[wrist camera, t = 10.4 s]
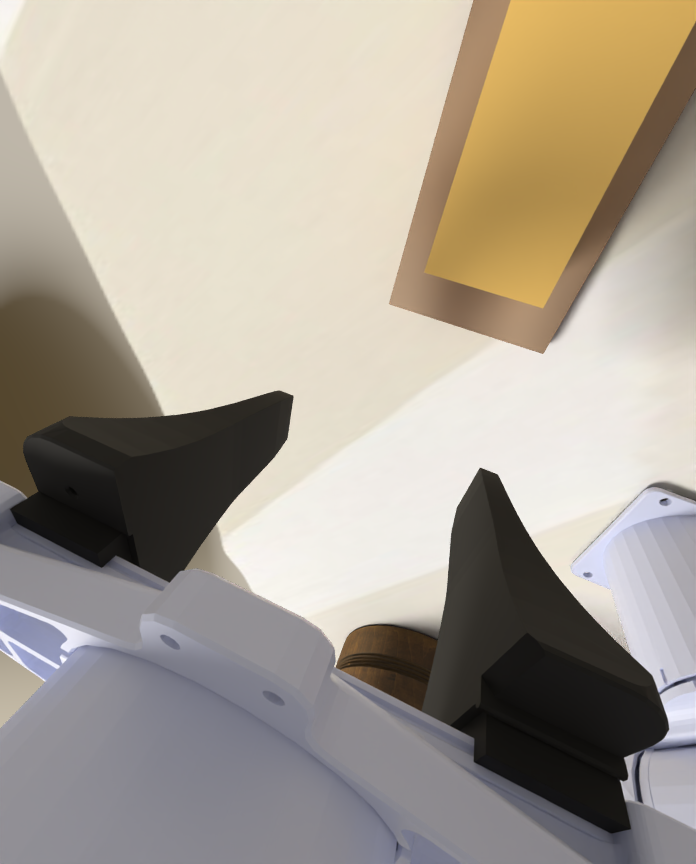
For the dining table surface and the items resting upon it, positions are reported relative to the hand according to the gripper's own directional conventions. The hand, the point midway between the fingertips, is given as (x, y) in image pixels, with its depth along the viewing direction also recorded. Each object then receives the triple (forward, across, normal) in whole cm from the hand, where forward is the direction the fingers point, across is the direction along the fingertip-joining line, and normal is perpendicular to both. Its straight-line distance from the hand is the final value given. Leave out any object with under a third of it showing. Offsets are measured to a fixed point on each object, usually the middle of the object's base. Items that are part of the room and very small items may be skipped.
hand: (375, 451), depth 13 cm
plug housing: (+8, -2, -10) cm, 13 cm away
